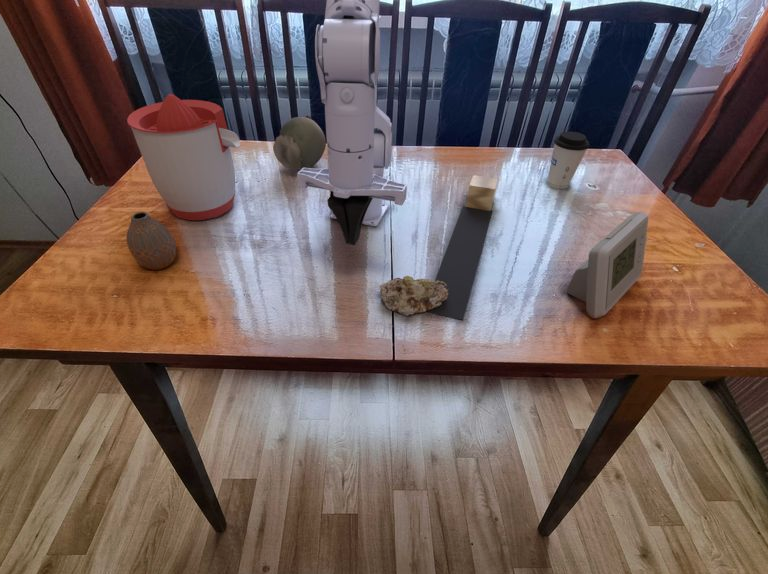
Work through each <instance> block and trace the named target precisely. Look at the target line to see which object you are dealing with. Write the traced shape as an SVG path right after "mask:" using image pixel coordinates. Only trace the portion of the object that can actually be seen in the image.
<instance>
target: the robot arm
mask: <svg viewBox="0 0 768 574" xmlns="http://www.w3.org/2000/svg"><path fill="white" fill-rule="evenodd" d="M325 3H326V5H325V13H324V21H323V24H321V25H320V24H317V25H316V28H315V36H314V57H315V66H316V72H317V77H318V81H319V88H320V99H321V103H322V104H324V119H325V120H324V121H325V134H326V135H325V138H326V149H327V151H326V153H327V166H328V167H327V168H313V167H311V168H304V167H303V168H302V169H300V170H299V171H298V172H296V175H297V185H298V186H297V187H298V188H301V189H307V188H308V187H310V188H315V189H319V190H320V189H321V190H326V191H329V193H330V194H329V197H328V198H327V200H326V201H327V207H328V208H329V210H330V211H331V214H330V218H331V219H333V220H337V222H338V224H339V226H340V228H341V232H342V235H343V239H344V241H345V244H346V245H351V246H355V245H356V244H357V243H358V241H359V239H360V235H361V229H362V225H365V226H370V227H377V226H378V225H379V224H380V222H381V221H382V218H383V217H384V216H385V214H386V212H387V211H388V209H389V205H388V204H385V203H383V201H389V202H394V205H397V206H403V205H404V203H405V202H406V200H407V192H408V184H406V183H401V182H397V181H394V180H391V179H389V178H386V177H384V171H385V170H388V169H389V168H390V167H391V161H392V143H393V142H392V141H393V133H392V125H393V124H392V122H391V118H390V117H389V116H388V115H387V114H386V113H385V112H384V111H382V110H381V109H380V108H379V107H378V105H377V104H378V80H379V76H380V67H381V66H380V65H381V64H380V63H381V31H380V29H381V28H380V3H381V2H380V0H326V2H325Z"/></svg>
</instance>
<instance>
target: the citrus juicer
mask: <svg viewBox="0 0 768 574" xmlns="http://www.w3.org/2000/svg"><path fill="white" fill-rule="evenodd" d="M126 119H127V124H128V126H129V127H130V128H131V131H132V133H133V136H134V139H135V142H136V144H137V147H138V149H139V153H140V154H141V157H142V160H143V162H144V165H145V167H146V170H147V172H148V175H149V177H150V179H151V182H152V184H153V185H154V188H155V189H156V191H157V192H158V194H159V196H160V197H161V198H162V200H163V201H164V203H165V205H166V206H167V207H168V208H169V209H170V211H171V212H172V213H173V215H175V216H177V217H178V218H180V219H184V220H188V221H205V220H211V219H214V218H219V217H221V216H222V215H223V214H226V213H227V212H229V211H230V210H231V209H232V207H233V206H234V203H235V197H236V170H235V162H234V158H233V154H232V149H233V148H234V149H239V148H240V146H241V139H240V138H239V136H238V134H237V133H236V132H234V131H232V130H229V129H228V126H227V121H226V117H225V113H224V109H223V108H222V107H221V105H219V104H217V103H214V102H212V101H205V100H202V99H201V100H200V99H181V98H179V97H177V96H176V95H175V94H172V93H168V94H167V95H166V97H165V98H164V100H163V101H160V102H155V103H152V104H148V105H145V106H142V107H140V108H137V109H136V110H134V111H133V112H131V113H129V115H128V117H127V118H126Z"/></svg>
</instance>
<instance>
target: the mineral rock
mask: <svg viewBox="0 0 768 574" xmlns="http://www.w3.org/2000/svg"><path fill="white" fill-rule="evenodd" d="M378 288H379V290H380V299H381V300H382V301H383V304H384V306H385V307H386V308H387V309H388V310H392V312H395V313H400V314H401V315H403V316H409V315H413V314H418V313H419V314H421V313H426V312H425V311H427V310H430V309H433V308H434V307H435V308H436V307H439V306H440V305H441V304H442V301H444V300H446V299H447V295H448V290H449V288H447V285H446V284H445V283H444V282H441V281H439V280H436V281H435V279H428V278H417V279H414V277H413V276H410V275H405V276H403V277H402V278H400V277H395V278H393V279H390V280H388V281H387V282H385V283H384V282H383V283H382V284H379V286H378Z"/></svg>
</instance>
